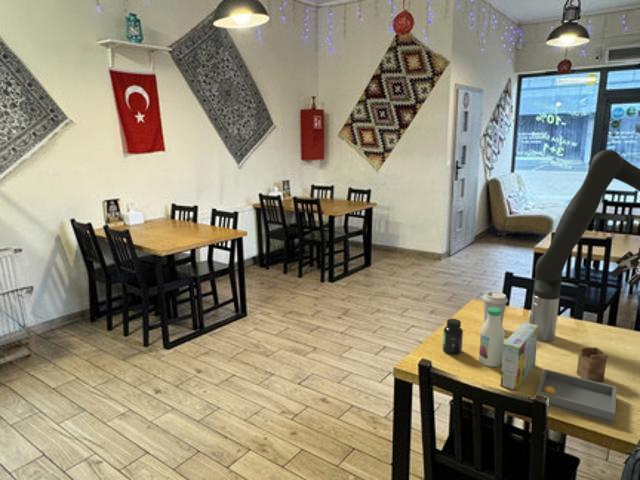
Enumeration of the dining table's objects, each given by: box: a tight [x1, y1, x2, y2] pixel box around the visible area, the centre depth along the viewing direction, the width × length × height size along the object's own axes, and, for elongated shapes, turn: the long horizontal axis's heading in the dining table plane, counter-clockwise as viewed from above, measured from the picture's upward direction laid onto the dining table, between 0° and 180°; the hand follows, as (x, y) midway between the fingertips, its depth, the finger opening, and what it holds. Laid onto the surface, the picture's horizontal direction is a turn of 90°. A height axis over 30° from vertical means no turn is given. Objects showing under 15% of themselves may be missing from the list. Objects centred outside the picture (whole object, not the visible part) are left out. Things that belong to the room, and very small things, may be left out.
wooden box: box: [576, 346, 608, 383], centre depth 151 cm, size 6×6×10 cm
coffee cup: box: [482, 291, 509, 324], centre depth 187 cm, size 10×10×15 cm
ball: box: [544, 386, 555, 395], centre depth 139 cm, size 3×3×3 cm
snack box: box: [500, 321, 538, 391], centre depth 152 cm, size 21×6×15 cm, turn 141°
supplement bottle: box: [442, 318, 464, 356], centre depth 169 cm, size 7×7×12 cm
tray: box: [535, 368, 618, 425], centre depth 139 cm, size 20×16×4 cm
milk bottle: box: [478, 307, 505, 368], centre depth 160 cm, size 8×8×20 cm
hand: (620, 280), depth 154 cm, fingers open, 8 cm apart
